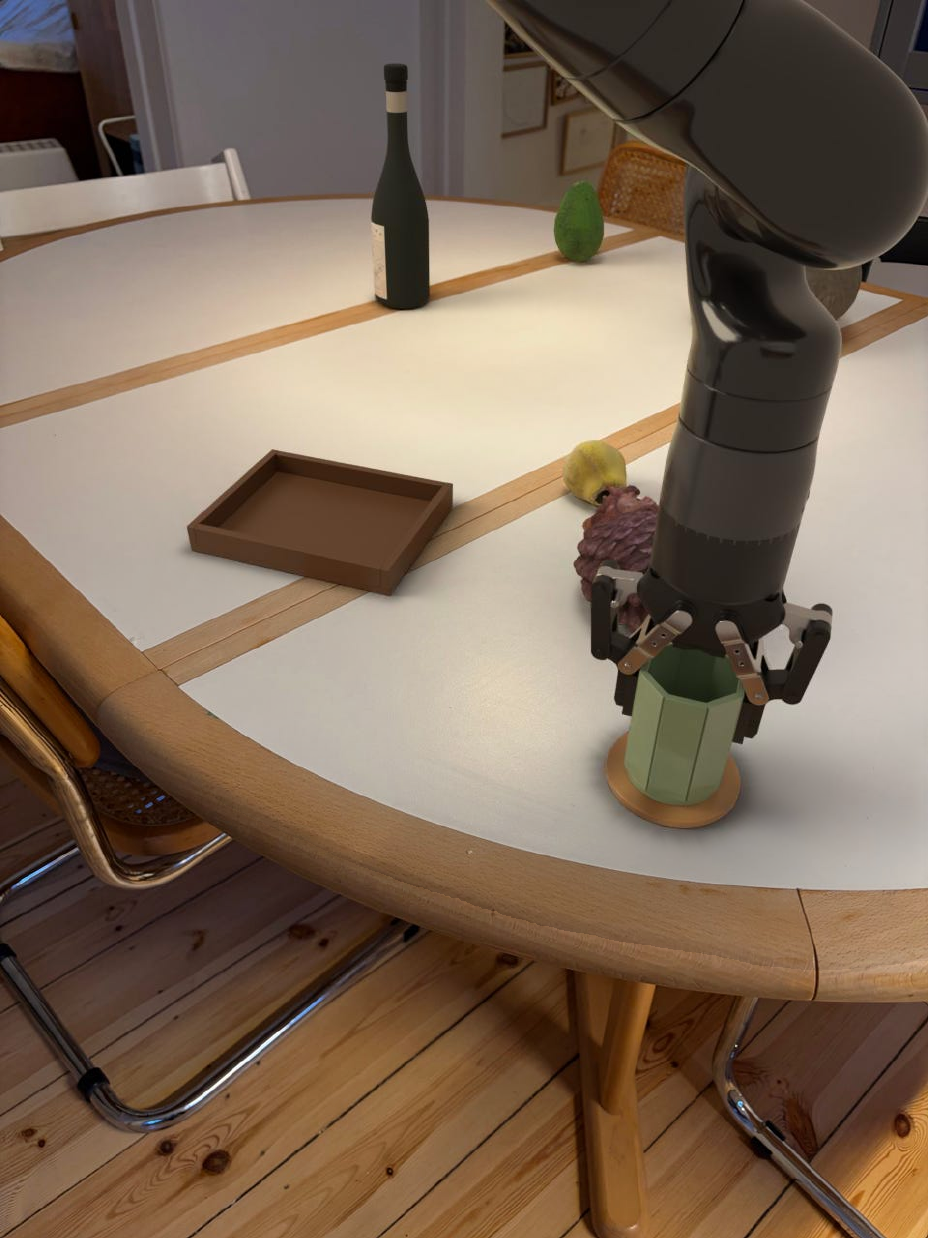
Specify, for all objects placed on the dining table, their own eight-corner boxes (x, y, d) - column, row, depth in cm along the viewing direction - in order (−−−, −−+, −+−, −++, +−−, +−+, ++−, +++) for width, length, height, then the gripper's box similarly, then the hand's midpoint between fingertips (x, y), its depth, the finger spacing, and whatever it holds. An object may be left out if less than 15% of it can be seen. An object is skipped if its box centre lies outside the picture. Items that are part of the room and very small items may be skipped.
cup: (616, 791, 62) (632, 690, 56) (635, 727, 67) (652, 628, 61) (713, 817, 60) (740, 716, 55) (726, 749, 65) (752, 650, 59)
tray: (191, 550, 85) (186, 526, 83) (275, 471, 96) (272, 448, 95) (389, 595, 80) (388, 570, 78) (453, 506, 91) (453, 483, 90)
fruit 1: (578, 250, 156) (585, 172, 149) (610, 262, 151) (619, 183, 144) (542, 258, 153) (547, 179, 145) (573, 271, 148) (580, 190, 140)
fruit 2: (595, 533, 88) (541, 473, 94) (641, 532, 91) (586, 474, 97) (621, 482, 84) (564, 423, 90) (668, 483, 88) (609, 426, 94)
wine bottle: (371, 310, 133) (359, 68, 115) (378, 291, 139) (368, 59, 121) (427, 311, 133) (424, 69, 114) (432, 293, 139) (430, 60, 121)
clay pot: (830, 370, 118) (863, 248, 109) (668, 339, 126) (685, 223, 117) (858, 316, 134) (888, 205, 124) (711, 291, 141) (730, 185, 132)
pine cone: (762, 649, 74) (750, 596, 66) (654, 712, 76) (629, 668, 67) (652, 496, 84) (629, 433, 75) (557, 555, 85) (524, 499, 76)
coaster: (591, 806, 62) (592, 800, 61) (620, 717, 68) (621, 711, 68) (730, 844, 59) (731, 838, 59) (745, 748, 66) (747, 742, 66)
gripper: (584, 507, 49) (561, 732, 60) (871, 561, 46) (793, 792, 56) (615, 444, 55) (589, 660, 65) (873, 489, 51) (802, 710, 61)
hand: (683, 720), depth 60 cm, fingers closed on cup, 6 cm apart
